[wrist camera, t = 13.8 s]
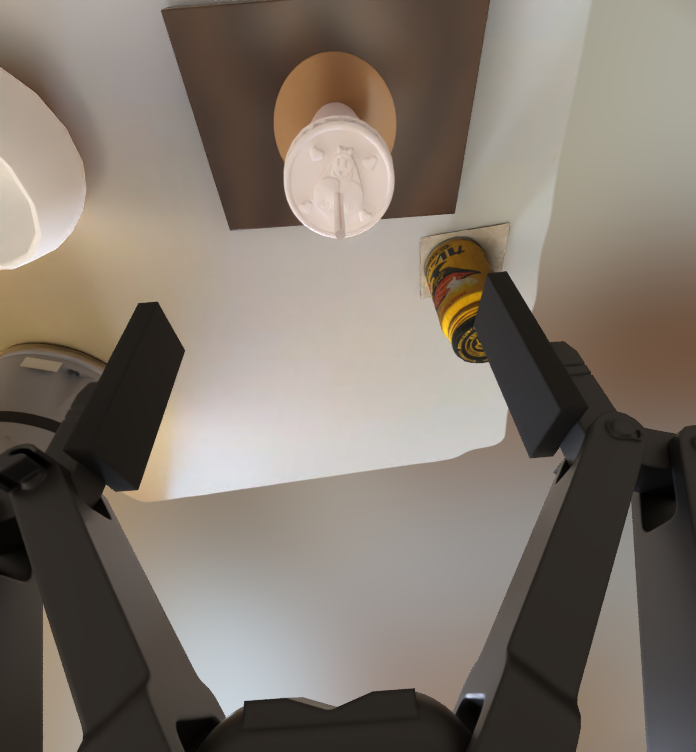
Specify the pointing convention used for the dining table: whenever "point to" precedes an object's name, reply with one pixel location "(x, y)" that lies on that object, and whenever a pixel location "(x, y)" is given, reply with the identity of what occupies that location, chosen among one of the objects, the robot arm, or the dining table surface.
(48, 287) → the dining table surface
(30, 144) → the cup
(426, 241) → the condiment
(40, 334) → the dining table surface
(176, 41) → the board
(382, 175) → the smoothie
